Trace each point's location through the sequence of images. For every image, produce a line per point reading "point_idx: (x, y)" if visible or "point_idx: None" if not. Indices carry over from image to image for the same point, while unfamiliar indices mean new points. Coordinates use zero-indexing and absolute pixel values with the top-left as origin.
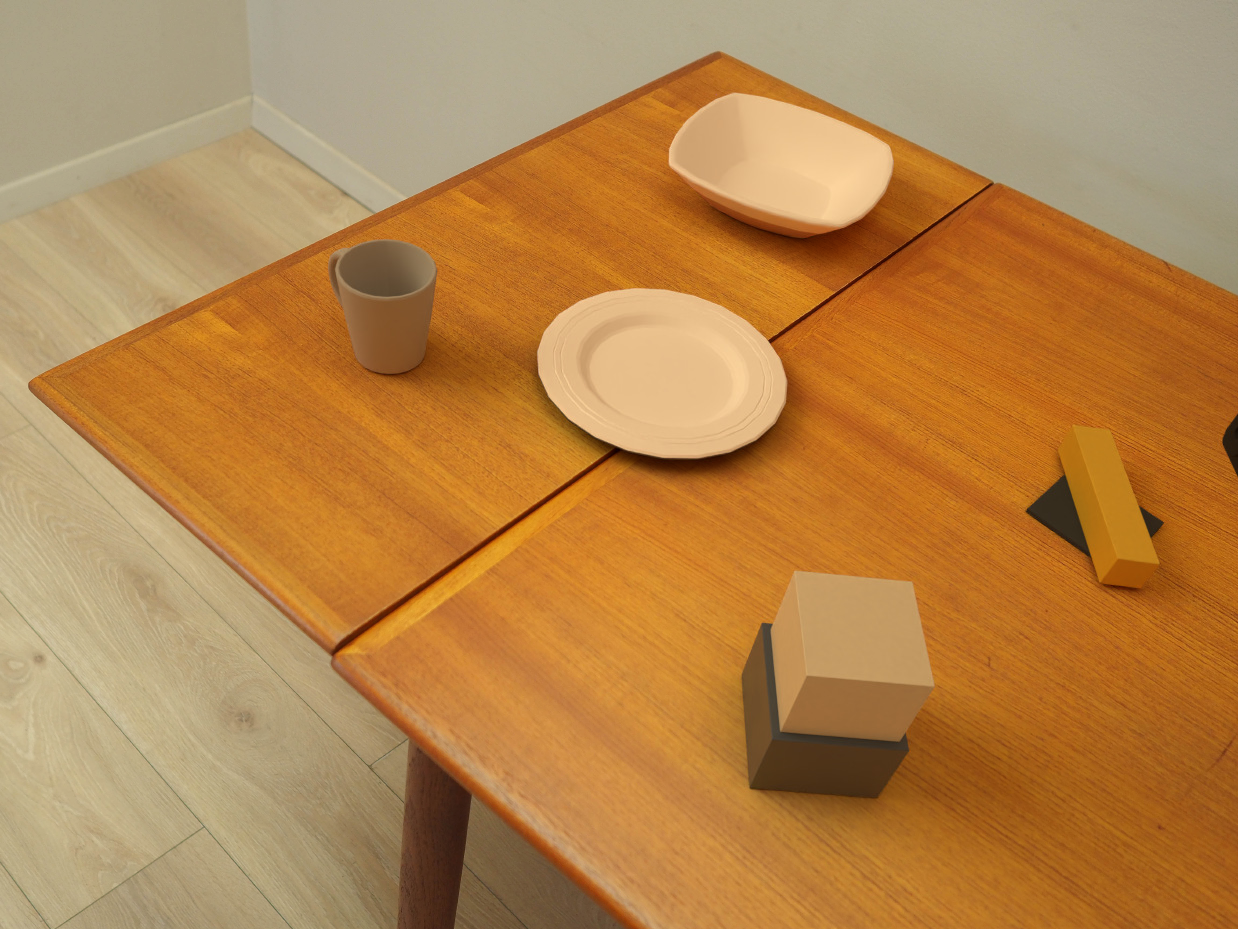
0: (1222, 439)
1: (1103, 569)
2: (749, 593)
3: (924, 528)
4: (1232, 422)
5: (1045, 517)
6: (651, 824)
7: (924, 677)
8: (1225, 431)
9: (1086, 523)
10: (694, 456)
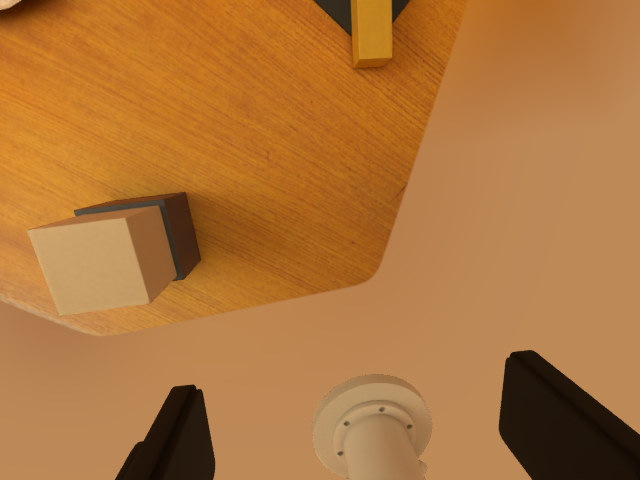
0: (175, 386)
1: (354, 59)
2: (102, 135)
3: (224, 36)
4: (124, 465)
5: (322, 1)
6: None
7: (142, 298)
8: (136, 444)
9: (352, 5)
10: (5, 6)
